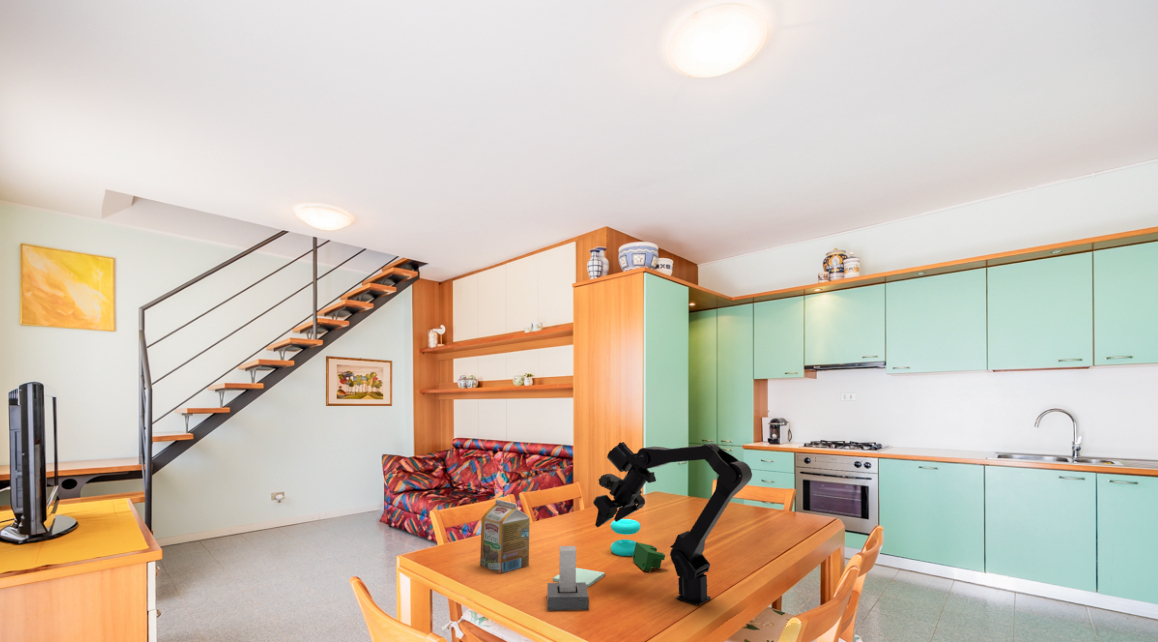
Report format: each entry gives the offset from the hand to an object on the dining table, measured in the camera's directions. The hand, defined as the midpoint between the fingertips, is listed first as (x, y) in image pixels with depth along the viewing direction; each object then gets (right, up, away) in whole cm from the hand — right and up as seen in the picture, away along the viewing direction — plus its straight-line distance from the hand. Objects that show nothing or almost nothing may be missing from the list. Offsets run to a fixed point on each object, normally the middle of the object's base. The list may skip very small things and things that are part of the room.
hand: (606, 523), depth 154 cm
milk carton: (-31, -16, +6) cm, 35 cm away
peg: (-11, -12, -22) cm, 27 cm away
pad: (-8, -14, -4) cm, 17 cm away
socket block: (-11, -12, -22) cm, 27 cm away
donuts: (+8, -18, +21) cm, 28 cm away
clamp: (+14, -16, +7) cm, 22 cm away
